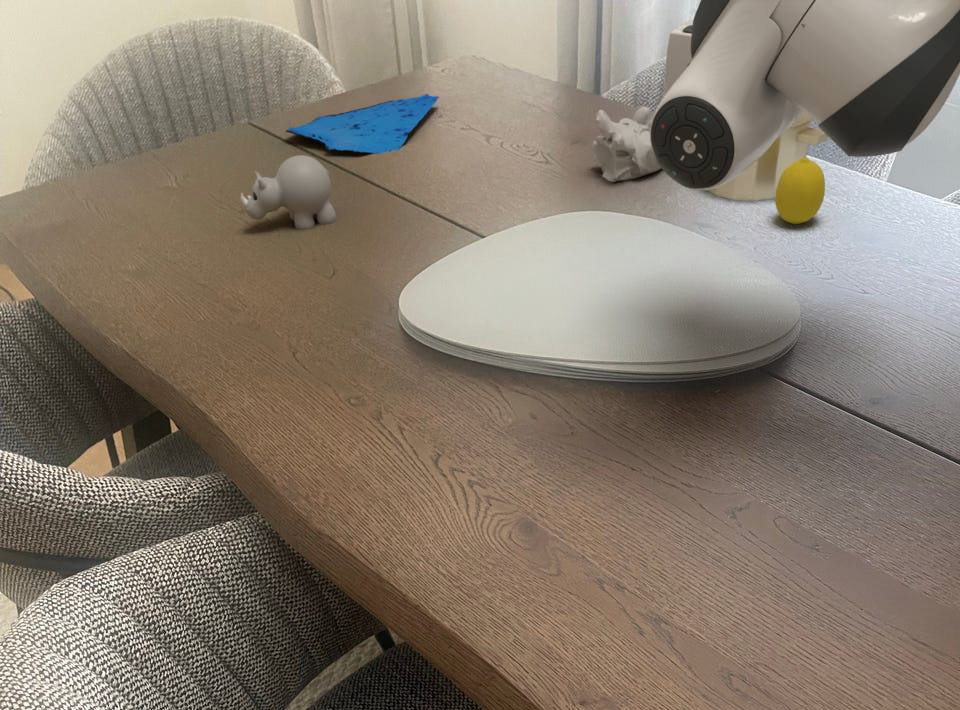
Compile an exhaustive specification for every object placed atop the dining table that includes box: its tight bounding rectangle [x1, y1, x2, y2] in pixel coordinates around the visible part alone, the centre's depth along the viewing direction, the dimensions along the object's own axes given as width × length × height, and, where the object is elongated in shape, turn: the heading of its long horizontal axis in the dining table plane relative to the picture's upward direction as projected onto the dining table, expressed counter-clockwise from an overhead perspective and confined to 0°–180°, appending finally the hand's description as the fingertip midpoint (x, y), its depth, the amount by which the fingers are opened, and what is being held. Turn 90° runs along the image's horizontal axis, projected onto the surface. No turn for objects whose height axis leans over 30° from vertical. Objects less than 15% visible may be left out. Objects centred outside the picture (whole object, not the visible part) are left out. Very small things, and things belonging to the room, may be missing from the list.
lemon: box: [774, 156, 826, 225], centre depth 115 cm, size 6×6×8 cm
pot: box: [707, 122, 829, 202], centre depth 124 cm, size 13×18×8 cm
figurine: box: [591, 106, 662, 183], centre depth 129 cm, size 8×10×12 cm
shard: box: [284, 93, 440, 155], centre depth 153 cm, size 25×24×2 cm
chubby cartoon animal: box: [240, 154, 338, 230], centre depth 127 cm, size 7×12×8 cm, turn 108°
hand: (813, 31), depth 89 cm, fingers open, 8 cm apart
